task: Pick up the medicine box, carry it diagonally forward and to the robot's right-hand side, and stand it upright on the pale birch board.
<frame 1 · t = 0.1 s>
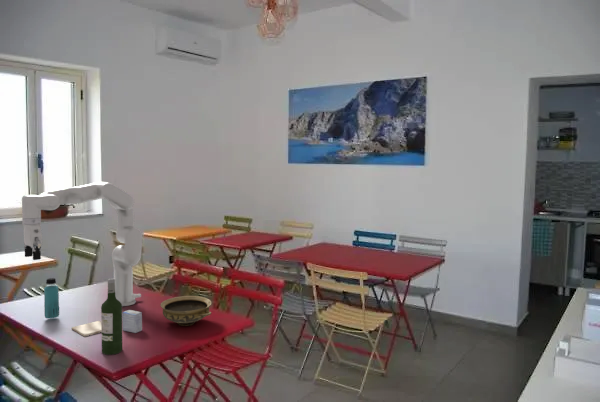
hand: (32, 258, 225), 31 cm above the table, tool pointing down, fingers open, 9 cm apart
ceramic bowl: (186, 323, 232), on the table
beverage bottle: (52, 319, 233), on the table
medicine box: (132, 331, 221), on the table
birch board: (92, 329, 221), on the table
wine bottle: (112, 351, 197), on the table
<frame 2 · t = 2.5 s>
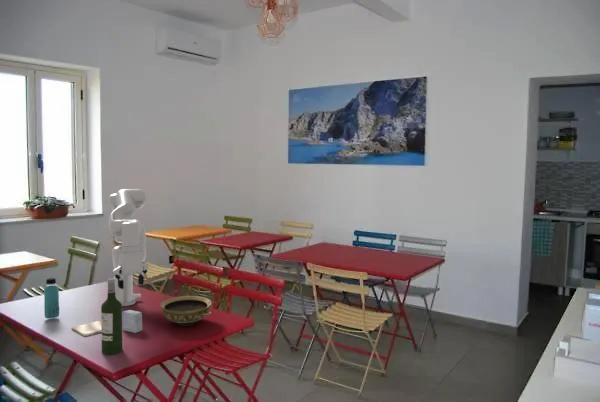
hand: (131, 286, 219), 21 cm above the table, tool pointing down, fingers open, 9 cm apart
nothing on the table moved.
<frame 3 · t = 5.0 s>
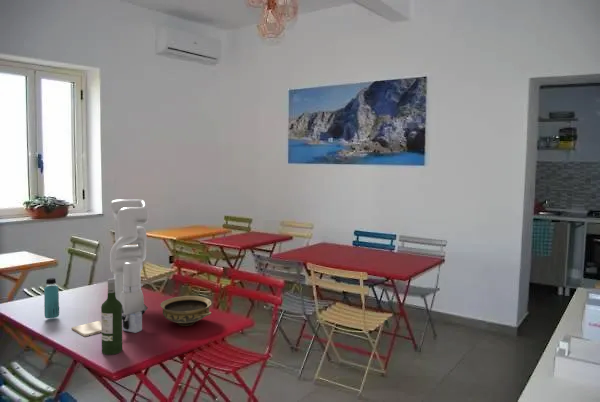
hand: (132, 326, 221), 2 cm above the table, tool pointing down, fingers closed on medicine box, 5 cm apart
medicine box: (132, 330, 221), on the table, touching gripper
everything else where it was.
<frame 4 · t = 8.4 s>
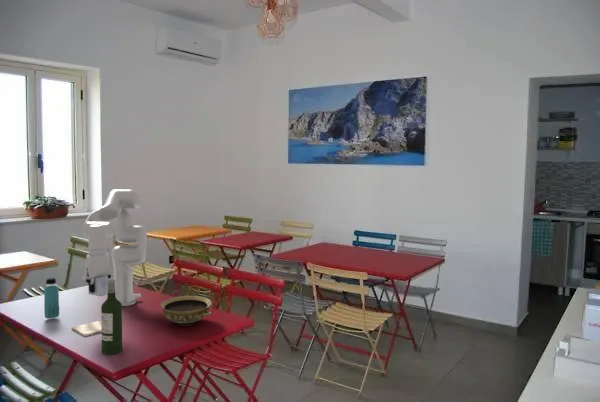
hand: (98, 290, 220), 18 cm above the table, tool pointing down, fingers closed on medicine box, 5 cm apart
medicine box: (98, 294, 220), point 16 cm above the table, touching gripper
everything else where it was.
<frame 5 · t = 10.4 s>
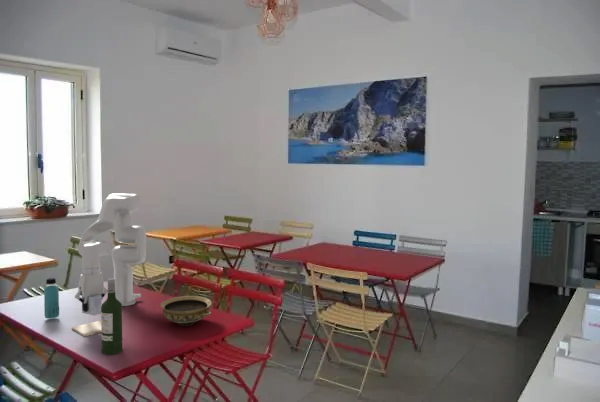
hand: (91, 309, 220), 9 cm above the table, tool pointing down, fingers closed on medicine box, 5 cm apart
medicine box: (91, 313, 220), point 7 cm above the table, touching gripper
everything else where it was.
when the fingers open (4 cm above the table, at t = 11.9 s): medicine box drops 1 cm, resting on birch board.
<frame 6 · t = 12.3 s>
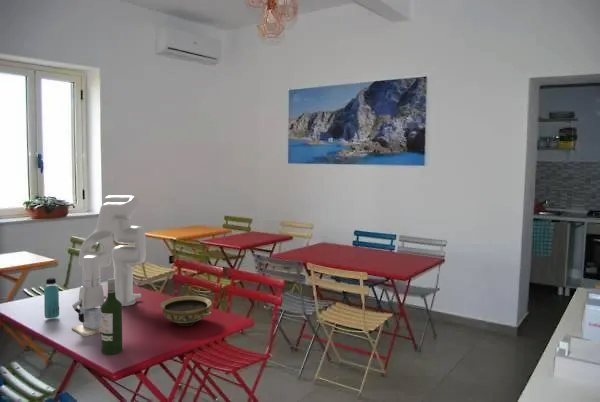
hand: (92, 319, 221), 5 cm above the table, tool pointing down, fingers open, 9 cm apart
medicine box: (92, 327, 221), point 1 cm above the table, touching birch board
everything else where it was.
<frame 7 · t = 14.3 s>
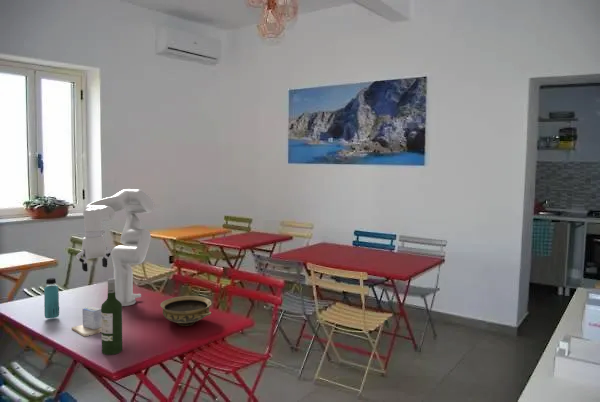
hand: (95, 268, 232), 25 cm above the table, tool pointing down, fingers open, 9 cm apart
nothing on the table moved.
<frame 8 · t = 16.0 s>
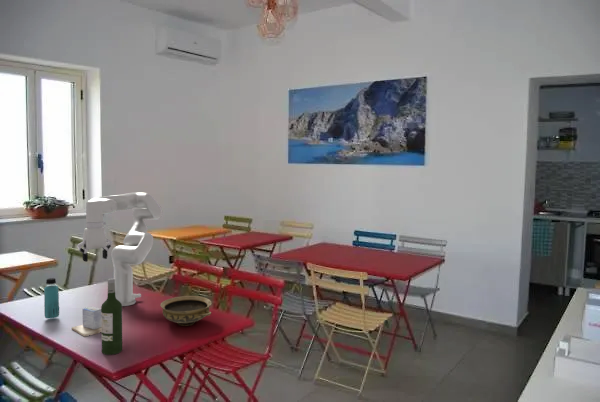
hand: (95, 259, 237), 28 cm above the table, tool pointing down, fingers open, 9 cm apart
nothing on the table moved.
at the end: medicine box inside the target area on the birch board (0.1 cm from its centre), point 0.8 cm above the birch board's base; medicine box tilted 0°; the gripper is holding nothing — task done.
